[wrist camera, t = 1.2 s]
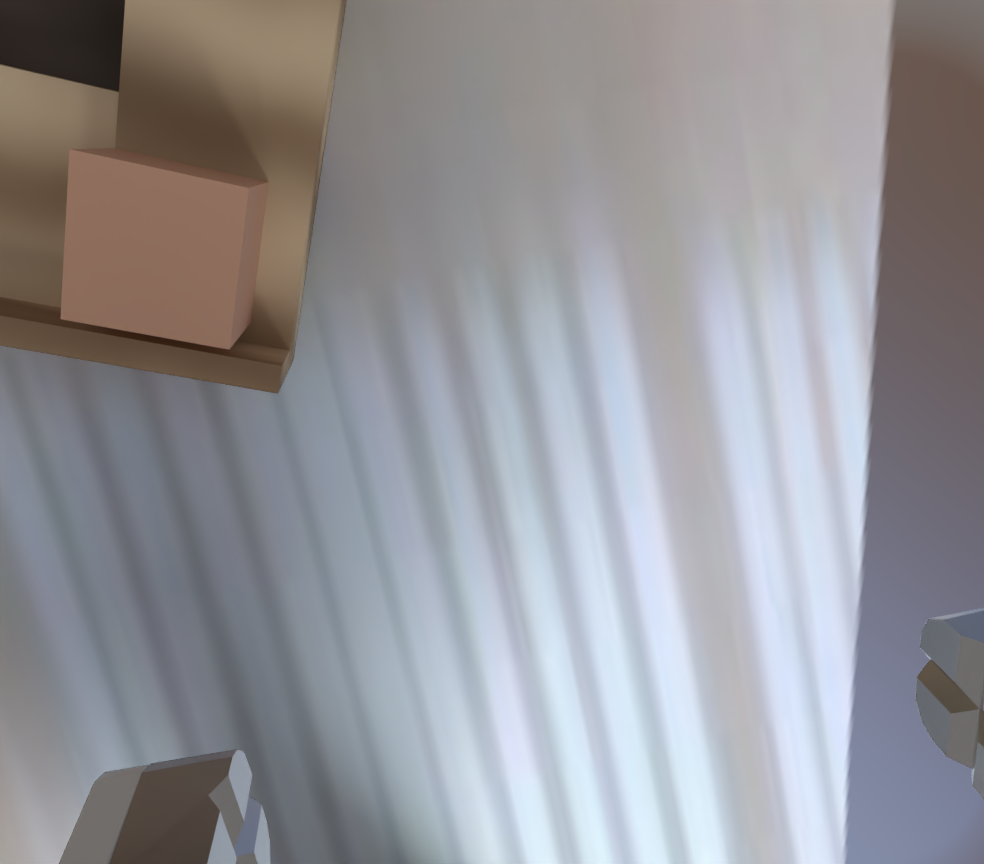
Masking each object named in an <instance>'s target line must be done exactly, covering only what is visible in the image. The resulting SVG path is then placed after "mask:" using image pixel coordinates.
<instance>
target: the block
mask: <svg viewBox="0 0 984 864" xmlns="http://www.w3.org/2000/svg"><path fill="white" fill-rule="evenodd" d="M268 183H269V182H267V181H262V180H258V179H253V178H249V177H244V176H240V175H235V174H230V173H226V172H221V171H217V170H212V169H208V168H203V167H199V166H194V165H189V164H185V163H180V162H176V161H171V160H167V159H162V158H158V157H153V156H148V155H144V154H139V153H135V152H130V151H126V150H121V149H117V148H100V149H69V167H68V186H67V205H66V224H65V243H64V262H63V281H62V300H61V319H63V320H68V321H74V322H79V323H85V324H90V325H96V326H101V327H107V328H112V329H118V330H123V331H129V332H135V333H140V334H146V335H151V336H157V337H162V338H168V339H173V340H179V341H184V342H190V343H195V344H201V345H206V346H212V347H217V348H223V349H230V348H231V347H232V346H233V344H234V343H235V342H236V341H237V339H238V338H239V337H240V336H241V334H242V333H243V332H244V331H245V329H246V328H247V327H248V325H249V324H250V323H251V315H252V307H253V300H254V292H255V284H256V276H257V268H258V261H259V253H260V245H261V237H262V229H263V222H264V214H265V206H266V198H267V190H268Z"/></svg>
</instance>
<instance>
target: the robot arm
mask: <svg viewBox="0 0 984 864" xmlns="http://www.w3.org/2000/svg"><path fill="white" fill-rule="evenodd" d="M920 648H921V649H922V650H923V652H924V653H925V654H926V655H927V656H928V657H929V659H930V661H929V662H928V663H927V665H926V666H925V667H924V668H923V670H922V671H921V672H920V674H919V675H918V676H917V681H916V703H917V707H918V710H919V713H920V717H921V720H922V723H923V725H924V727H925V728H926V730H927V732H928V734H929V735H930V737H931V739H932V740H933V742H934V743H935V744H936V745H937V746H938V748H940V750H941V751H942V752H943V753H944V755H945V756H946V757H948V758H951V759H953V760H955V761H957V762H959V763H961V764H963V765H965V766H967V767H969V768H971V769H972V786H973V788H974V789H975V790H976V791H977V792H978V793H979V794H980V795H981V797H982V798H983V799H984V608H981V609H976V610H971V611H965V612H961V613H955V614H950V615H945V616H940V617H935V618H930V619H928V620H927V622H926V624H925V625H924V627H923V629H922V631H921V640H920ZM251 781H252V772H251V769H250V766H249V764H248V761H247V758H246V755H245V753H244V752H242V751H240V750H239V749H236V750H230V751H224V752H218V753H212V754H206V755H200V756H194V757H188V758H182V759H176V760H170V761H164V762H157V763H151V764H150V765H145V766H138V767H132V768H126V769H120V770H114V771H108V772H105V773H104V774H102V775H101V776H100V777H99V778H98V779H97V780H96V781H95V783H94V784H93V786H92V788H91V791H90V793H89V795H88V798H87V800H86V802H85V805H84V807H83V809H82V812H81V814H80V816H79V818H78V821H77V823H76V825H75V828H74V830H73V832H72V835H71V837H70V839H69V841H68V844H67V846H66V848H65V851H64V853H63V855H62V858H61V860H60V862H59V864H270V838H269V832H268V826H267V820H266V817H265V813H264V810H263V807H262V804H260V803H259V802H257V801H256V800H254V799H253V798H251V797H250V796H249V791H250V786H251Z"/></svg>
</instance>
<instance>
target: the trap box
mask: <svg viewBox="0 0 984 864" xmlns="http://www.w3.org/2000/svg"><path fill="white" fill-rule="evenodd" d="M345 5H346V0H0V345H1V346H7V347H13V348H18V349H24V350H30V351H36V352H41V353H47V354H53V355H59V356H65V357H70V358H76V359H82V360H88V361H93V362H99V363H105V364H111V365H117V366H122V367H128V368H134V369H140V370H145V371H151V372H157V373H163V374H169V375H174V376H180V377H186V378H192V379H197V380H203V381H209V382H215V383H221V384H226V385H232V386H238V387H244V388H249V389H255V390H261V391H267V392H273V393H278V392H279V390H280V388H281V386H282V384H283V381H284V379H285V377H286V375H287V373H288V370H289V368H290V366H291V364H292V362H293V358H294V351H295V344H296V338H297V331H298V324H299V317H300V310H301V304H302V297H303V290H304V283H305V276H306V270H307V263H308V256H309V249H310V243H311V236H312V229H313V222H314V215H315V209H316V202H317V195H318V188H319V181H320V175H321V168H322V161H323V154H324V148H325V141H326V134H327V127H328V120H329V114H330V107H331V100H332V93H333V86H334V80H335V73H336V66H337V59H338V53H339V46H340V39H341V32H342V25H343V19H344V12H345ZM100 148H117V149H121V150H126V151H130V152H135V153H139V154H144V155H148V156H153V157H158V158H162V159H167V160H171V161H176V162H180V163H185V164H189V165H194V166H199V167H203V168H208V169H212V170H217V171H221V172H226V173H230V174H235V175H240V176H244V177H249V178H253V179H258V180H262V181H267V182H269V183H268V190H267V198H266V206H265V214H264V222H263V229H262V237H261V245H260V253H259V261H258V268H257V276H256V284H255V292H254V300H253V307H252V315H251V323H250V324H249V325H248V327H247V328H246V329H245V331H244V332H243V333H242V334H241V336H240V337H239V338H238V339H237V341H236V342H235V343H234V344H233V346H232V347H231V348H230V349H223V348H217V347H212V346H206V345H201V344H195V343H190V342H184V341H179V340H173V339H168V338H162V337H157V336H151V335H146V334H140V333H135V332H129V331H123V330H118V329H112V328H107V327H101V326H96V325H90V324H85V323H79V322H74V321H68V320H63V319H61V300H62V281H63V262H64V243H65V224H66V205H67V186H68V167H69V149H100Z"/></svg>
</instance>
